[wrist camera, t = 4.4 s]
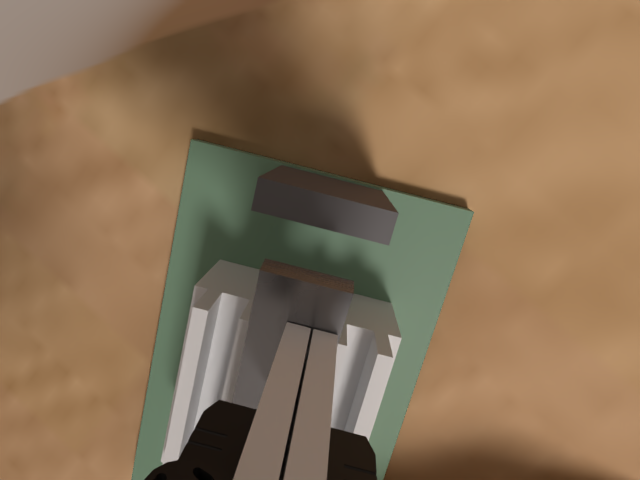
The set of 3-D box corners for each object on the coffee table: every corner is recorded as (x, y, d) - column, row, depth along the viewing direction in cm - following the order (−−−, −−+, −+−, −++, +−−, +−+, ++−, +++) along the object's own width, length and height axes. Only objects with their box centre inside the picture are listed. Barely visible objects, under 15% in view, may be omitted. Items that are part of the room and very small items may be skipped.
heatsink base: (362, 523, 27) (370, 666, 20) (138, 467, 27) (63, 591, 20) (468, 208, 22) (529, 244, 15) (197, 139, 22) (126, 141, 15)
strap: (280, 564, 20) (275, 594, 18) (192, 542, 20) (182, 571, 18) (373, 282, 14) (373, 302, 13) (247, 250, 14) (237, 268, 13)
